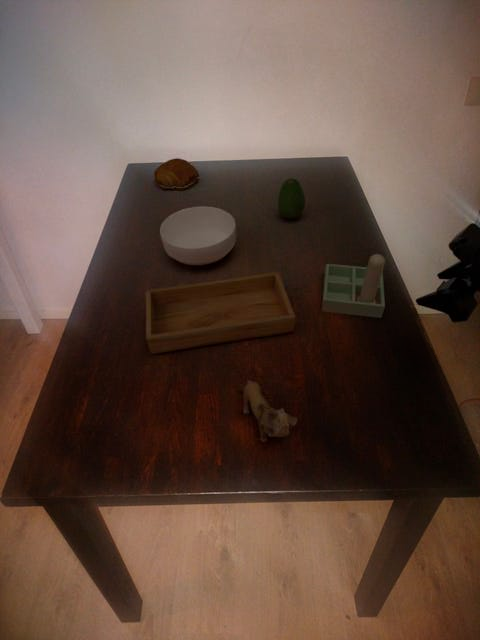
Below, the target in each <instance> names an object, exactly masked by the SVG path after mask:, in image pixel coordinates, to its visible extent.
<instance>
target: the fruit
mask: <svg viewBox="0 0 480 640" xmlns="http://www.w3.org/2000/svg"><path fill="white" fill-rule="evenodd" d="M305 206H306V197H305V194H304V190H303V189H302V186H301V184H300V182H299V180H297V179H296V178H294V177H293V178H292V177H290V178H288V179H285V180H284V182H283V183H282V185H281V188H280V191H279V194H278V198H277V207H278V211H279V213H280V214H281V216H282V217H284V218H285V219H289V220H292V219H295V218H297V217H299V216H301V214H302V213H303V212H304V209H305Z"/></svg>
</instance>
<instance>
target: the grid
mask: <svg viewBox="0 0 480 640" xmlns="http://www.w3.org/2000/svg"><path fill="white" fill-rule="evenodd" d="M366 270H367V266H359V265H358V266H356V265H346V264H333V263H325V271H324V278H323V279H324V280H323V290H322V303H321V312H323V313H324V312H325V313H332V314H333V313H334V314H342V315H343V314H344V315H351V316H361V317H369V318H378V319H382V317H383V315H384V311H385V309H386V300H385V288H384V287H385V285H384V273H383V271H384V270H383V271H382V275H381V278H380V282H379V285H378V289H377V292H376V296H375V300H376V303H366V302H357V298H358V297H359V296H360V294H361V290H362V286H363V282H364V278H365V274H366Z"/></svg>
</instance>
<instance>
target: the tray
mask: <svg viewBox="0 0 480 640" xmlns="http://www.w3.org/2000/svg"><path fill="white" fill-rule="evenodd" d="M145 314H146V315H145V322H146V323H145V335H146V336H145V339H146V342H147V346H148V348H149V352H150V353H151V355H154V354H161V353H167V352H172V351H180V350H185V349H191V348H197V347H205V346H212V345H218V344H223V343H231V342H238V341H244V340H251V339H258V338H264V337H265V338H266V337H270V336H271V337H272V336H278V335H284V334H290V333H294V332H295V327H296V326H295V324H296V314H295V312H294V309H293V307H292V304H291V301H290V299H289V297H288V294H287V291H286V289H285V286H284V283H283V281H282V278H281V276H280V274H279V272H278V271H277V272H276V271H275V272H267V273H260V274H253V275H246V276H238V277H231V278H224V279H217V280H209V281H203V282H195V283H188V284H179V285H173V286H166V287H159V288H151V289H147V290H146V289H145Z"/></svg>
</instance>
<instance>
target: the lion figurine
mask: <svg viewBox="0 0 480 640" xmlns="http://www.w3.org/2000/svg"><path fill="white" fill-rule="evenodd" d="M237 391H238V392H239V393H243V400H244V401H243V409H242V410H243V411H242V412H243V415H246V416H247V415H249V414H250V408H251V411H252V413H253V415H254V417H255V418H256V420H257V425H258V430H259V434H260V436H259V439H260V441H261V442H263V443H265V442H267V441H268V437H269V438H275V437H277V438H284V437H287V436H288V435H290V428H293V426H296V425H297V422H298V417H296V416H291V415H290V414H289V413H286V412H285V409H284V408H283V407H281V408H280V409H275V408H274V407H271V406H270V404H269V403H268V401H267V400H266V399H265V397H264V396H263V394H262V388H261V385H260V384H259V382H257V381H252V380H248V381H247V382H246V384H245V386H244V388H237ZM249 403H250V407H249Z"/></svg>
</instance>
